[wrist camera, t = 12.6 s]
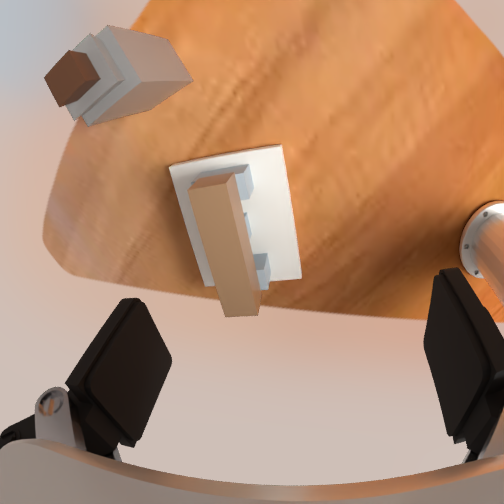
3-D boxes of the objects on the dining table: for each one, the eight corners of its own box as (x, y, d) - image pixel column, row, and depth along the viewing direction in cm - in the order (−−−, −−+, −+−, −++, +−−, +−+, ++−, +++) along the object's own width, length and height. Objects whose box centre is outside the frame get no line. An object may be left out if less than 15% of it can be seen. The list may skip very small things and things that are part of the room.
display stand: (281, 144, 36) (278, 153, 31) (301, 272, 44) (301, 296, 39) (173, 164, 39) (155, 176, 34) (207, 280, 47) (197, 303, 42)
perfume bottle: (167, 39, 30) (75, 19, 15) (193, 80, 33) (112, 83, 18) (126, 69, 33) (25, 77, 17) (150, 110, 35) (56, 137, 20)
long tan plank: (234, 172, 33) (225, 183, 29) (261, 294, 40) (257, 315, 37) (198, 178, 33) (187, 190, 30) (231, 296, 41) (225, 317, 37)
